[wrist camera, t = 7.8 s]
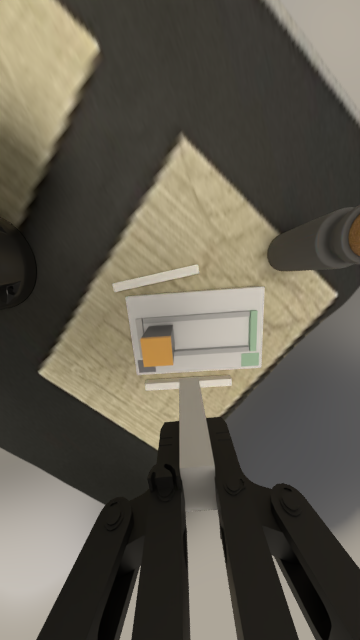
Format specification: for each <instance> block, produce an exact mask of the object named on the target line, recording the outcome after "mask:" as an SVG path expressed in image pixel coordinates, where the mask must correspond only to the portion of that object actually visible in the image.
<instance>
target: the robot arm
mask: <svg viewBox="0 0 360 640" xmlns="http://www.w3.org/2000/svg"><path fill="white" fill-rule="evenodd" d="M35 281H36V264H35V259H34V256H33V253H32V250H31V248H30V246H29V244H28V243H27V241H26V240H25V238H24V237H23V235H22V234H21V233H20V232H19V231H18V230H17V229H16V228H15V227H14V226H13V225H12V224H10V223H9V222H8V221H6V220H4V219H3V218H1V217H0V309H4V308H9V307H13V306H16V305H18V304H20V303H21V302H23V301H24V300H25V299H26V298H27V297H28V296H29V295H30V293H31V292H32V290H33V287H34V285H35ZM147 479H148V483H149V489H148V490H147V491H146V492H145V493H144V494H142V495H141V496H139V497H137V498H135V499H133V500H130V501H128V500H127V499H126V498H124V497H117V498H115V499H113V500H111V501H110V502H109V503H107V504H106V505H105V506H104V508H103V509H102V511H101V512H100V515H99V516H98V518H97V520H96V522H95V524H94V526H93V528H92V530H91V532H90V534H89V536H88V538H87V540H86V542H85V544H84V546H83V548H82V550H81V552H80V554H79V556H78V558H77V560H76V562H75V564H74V566H73V568H72V570H71V572H70V574H69V576H68V578H67V580H66V582H65V584H64V586H63V588H62V590H61V592H60V594H59V596H58V598H57V600H56V602H55V604H54V606H53V608H52V610H51V612H50V614H49V616H48V618H47V620H46V622H45V624H44V626H43V628H42V630H41V632H40V633H39V636H38V637H37V639H36V640H119V639H120V635H121V632H122V628H123V625H124V621H125V617H126V614H127V610H128V607H129V603H130V600H131V596H132V592H133V589H134V585H135V582H136V578H137V574H138V571H139V567H140V566H141V570H140V577H139V585H138V593H137V600H136V608H135V616H134V624H133V632H132V639H131V640H190V616H189V586H188V585H189V583H188V552H187V528H186V515H185V512H191V511H203V510H217V509H218V514H219V522H220V537H221V539H222V544H223V550H224V557H225V563H226V569H227V576H228V582H229V589H230V595H231V601H232V608H233V614H234V620H235V626H236V633H237V639H238V640H299V638H298V636H297V632H296V629H295V626H294V623H293V620H292V617H291V614H290V611H289V608H288V605H287V601H286V599H285V595H284V592H283V589H282V586H281V583H280V580H279V577H278V574H277V571H276V568H275V565H274V562H273V558H272V555H273V556H274V557H275V559H276V561H277V563H278V565H279V567H280V569H281V571H282V573H283V575H284V577H285V579H286V581H287V583H288V585H289V587H290V589H291V591H292V593H293V595H294V597H295V599H296V601H297V603H298V605H299V607H300V609H301V611H302V613H303V615H304V617H305V619H306V621H307V623H308V625H309V627H310V629H311V631H312V633H313V635H314V637H315V639H316V640H360V569H359V567H358V566H357V565H356V564H355V562H354V561H353V560H352V558H351V557H350V556H349V554H348V553H347V552H346V551H345V549H344V548H343V547H342V545H341V544H340V543H339V541H338V540H337V539H336V538H335V536H334V535H333V534H332V532H331V531H330V530H329V528H328V527H327V526H326V525H325V523H324V522H323V521H322V519H321V518H320V517H319V515H318V514H317V513H316V512H315V510H314V509H313V508H312V506H311V505H310V504H309V503H308V501H307V500H306V499H305V497H304V496H303V495H302V494H301V493H300V492H299V491H298V490H297V489H295V488H294V487H292V486H290V485H287V484H284V483H282V484H276V485H275V486H274V487H273V488H272V489H269V488H266V487H262V486H259V485H257V484H254V483H253V482H251V481H250V480H249V479H248V478H247V477H246V476H245V475H244V474H243V472H242V470H241V468H240V465H239V462H238V459H237V455H236V452H235V450H234V446H233V443H232V440H231V437H230V433H229V430H228V427H227V424H226V422H225V421H224V420H223V419H222V418H221V417H214V418H206V416H205V411H204V405H203V400H202V394H201V389H200V384H199V378H198V377H193V378H182V379H179V421H175V422H165V423H164V425H163V427H162V428H161V431H160V440H159V448H158V457H157V464H156V465H155V466H153V468H152V469H151V471H150V472H149V475H148V478H147Z"/></svg>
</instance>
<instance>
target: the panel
mask: <svg viewBox="0 0 360 640" xmlns="http://www.w3.org/2000/svg"><path fill="white" fill-rule="evenodd" d="M264 289H265V287H263V286H252V287H239V288H225V289H212V290H198V291H185V292H171V293H158V294H144V295H131V296H127V297H125V298H126V304H127V311H128V318H129V325H130V331H131V338H132V345H133V351H134V358H135V365H136V371H137V375H147V374H163V373H180V372H196V371H213V370H229V369H246V368H261V361H262V337H263V313H264ZM163 325H173V331H174V342H175V353H174V363H173V365H169V366H153V367H144V364H143V357H142V350H141V342H140V339H141V337H142V336H143V334H144V333H145V331H146V330H147V328H148V327H149V326H163Z"/></svg>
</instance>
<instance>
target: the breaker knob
mask: <svg viewBox="0 0 360 640" xmlns="http://www.w3.org/2000/svg"><path fill="white" fill-rule="evenodd" d="M140 342H141V350H142V357H143V364H144V367H153V366H169V365H173V363H174V353H175V342H174V331H173V325H163V326H149V327H148V328H147V330H146V331H145V333H144V334H143V336H142V337H141V339H140Z"/></svg>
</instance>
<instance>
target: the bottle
mask: <svg viewBox="0 0 360 640" xmlns="http://www.w3.org/2000/svg"><path fill="white" fill-rule="evenodd" d="M268 260H269V263H270V264H271V266H272V267H273V268H275V269H277V270H279V271H302V270H325V269H339V268H345V267H348V266H351V265H352V264H360V205H359V206H357V207H355V208H353V207H348V208H343V209H339V210H337V211H334V212H332V213H329V214H327V215H324V216H322V217H320V218H317V219H315V220H313V221H310V222H308V223H306V224H303V225H301V226H298V227H296V228H294V229H291V230H289V231H287V232H285V233H282V234H280V235H279V236H277V237H276V238H275V239H274V240H273V241H272V242H271V244H270V246H269V249H268Z"/></svg>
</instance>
